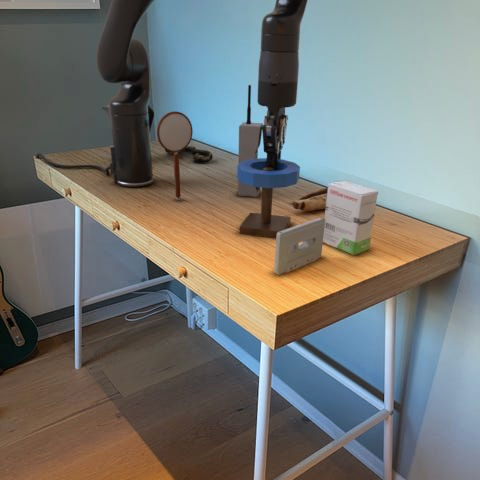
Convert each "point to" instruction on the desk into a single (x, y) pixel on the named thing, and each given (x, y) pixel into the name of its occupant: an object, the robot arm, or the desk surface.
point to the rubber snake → (197, 154)
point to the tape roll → (268, 173)
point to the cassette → (299, 255)
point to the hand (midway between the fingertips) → (273, 169)
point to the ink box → (349, 216)
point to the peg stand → (264, 218)
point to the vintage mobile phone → (249, 147)
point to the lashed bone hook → (311, 201)
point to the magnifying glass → (175, 139)
